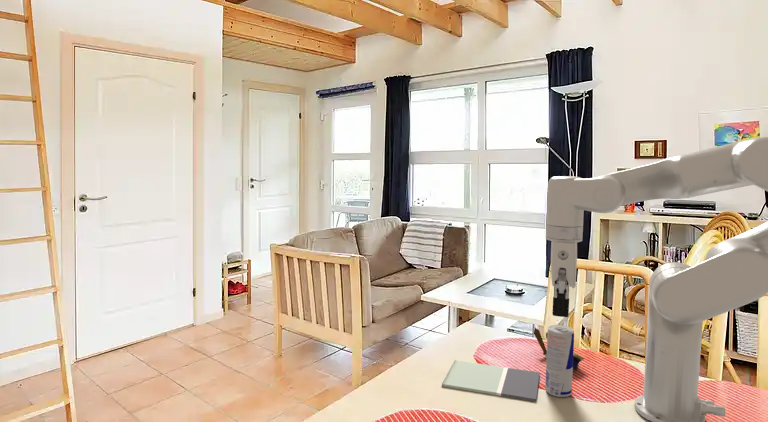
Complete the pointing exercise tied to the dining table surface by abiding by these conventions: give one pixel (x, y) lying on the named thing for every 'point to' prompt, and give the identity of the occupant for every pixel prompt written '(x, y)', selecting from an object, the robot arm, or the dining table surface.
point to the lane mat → (493, 380)
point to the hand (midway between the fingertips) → (560, 309)
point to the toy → (537, 334)
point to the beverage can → (559, 360)
